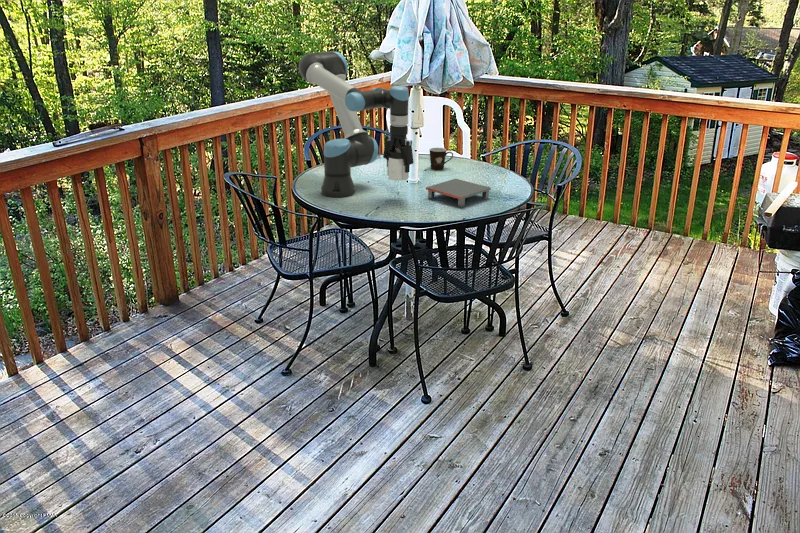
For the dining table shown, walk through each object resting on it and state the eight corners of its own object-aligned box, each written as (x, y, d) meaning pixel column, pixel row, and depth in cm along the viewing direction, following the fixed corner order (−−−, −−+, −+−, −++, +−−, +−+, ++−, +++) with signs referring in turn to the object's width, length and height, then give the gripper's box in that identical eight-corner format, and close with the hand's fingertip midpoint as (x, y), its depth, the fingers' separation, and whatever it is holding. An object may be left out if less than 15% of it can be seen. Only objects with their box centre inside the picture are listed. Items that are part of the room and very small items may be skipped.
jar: (383, 178, 284) (384, 151, 279) (393, 174, 291) (393, 147, 286) (401, 181, 280) (402, 154, 275) (411, 177, 287) (411, 150, 282)
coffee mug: (427, 170, 335) (427, 150, 331) (431, 166, 343) (431, 147, 339) (449, 172, 332) (450, 152, 328) (453, 168, 340) (453, 148, 336)
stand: (425, 198, 292) (425, 187, 290) (455, 189, 305) (455, 178, 303) (460, 208, 279) (461, 197, 277) (490, 198, 293) (490, 187, 291)
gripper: (374, 122, 280) (374, 173, 289) (411, 130, 267) (409, 184, 276) (387, 119, 285) (386, 170, 294) (423, 127, 272) (421, 180, 281)
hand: (397, 177), depth 285 cm, fingers closed on jar, 8 cm apart
